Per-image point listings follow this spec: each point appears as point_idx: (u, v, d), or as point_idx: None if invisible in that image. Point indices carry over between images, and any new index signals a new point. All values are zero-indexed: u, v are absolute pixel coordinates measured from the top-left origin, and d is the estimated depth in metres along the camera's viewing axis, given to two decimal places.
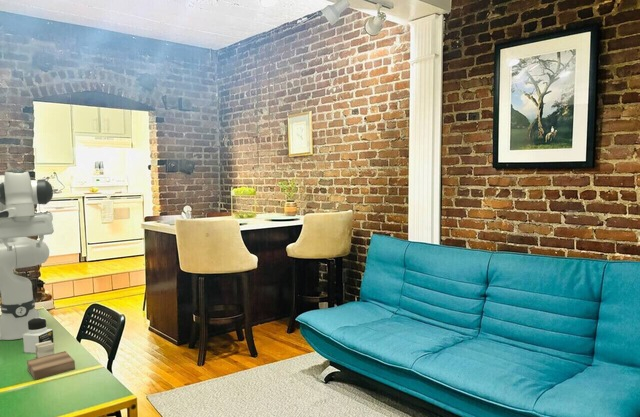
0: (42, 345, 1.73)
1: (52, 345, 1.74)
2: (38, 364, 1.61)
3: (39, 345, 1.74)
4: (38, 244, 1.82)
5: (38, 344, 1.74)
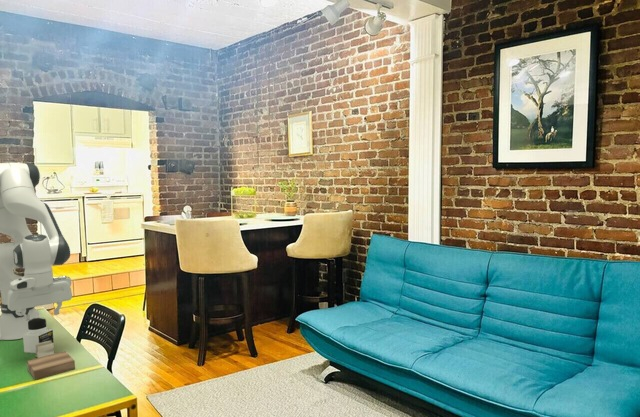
0: (42, 345, 1.73)
1: (52, 345, 1.74)
2: (38, 364, 1.61)
3: (39, 345, 1.74)
4: (56, 311, 1.76)
5: (38, 344, 1.74)
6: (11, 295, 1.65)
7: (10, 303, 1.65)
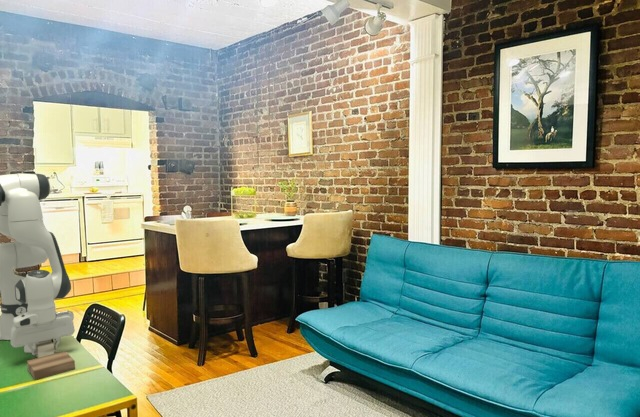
0: (42, 345, 1.73)
1: (52, 345, 1.74)
2: (38, 364, 1.61)
3: (39, 344, 1.74)
4: (54, 347, 1.76)
5: (38, 344, 1.74)
6: (14, 332, 1.66)
7: (13, 340, 1.66)
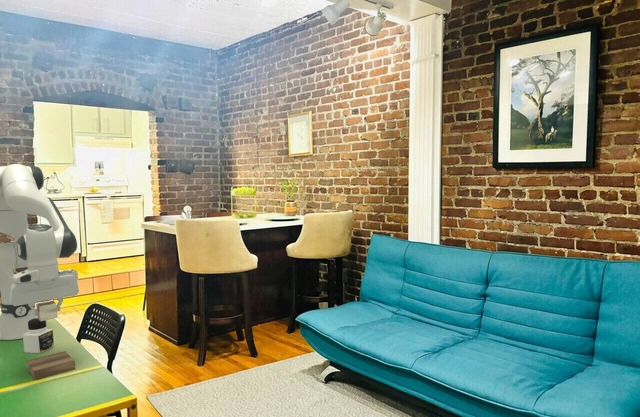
0: (44, 304, 1.60)
1: (55, 305, 1.61)
2: (38, 364, 1.61)
3: (41, 304, 1.61)
4: (57, 308, 1.63)
5: (39, 304, 1.62)
6: (14, 289, 1.54)
7: (13, 298, 1.54)
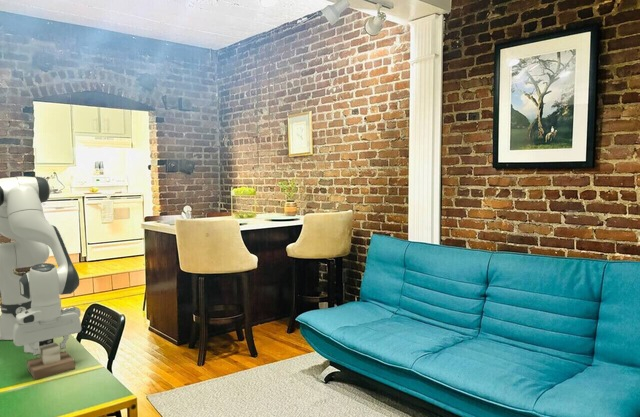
0: (47, 348, 1.62)
1: (58, 347, 1.63)
2: (38, 364, 1.61)
3: (44, 347, 1.62)
4: (62, 345, 1.65)
5: (42, 346, 1.63)
6: (17, 330, 1.55)
7: (16, 338, 1.55)
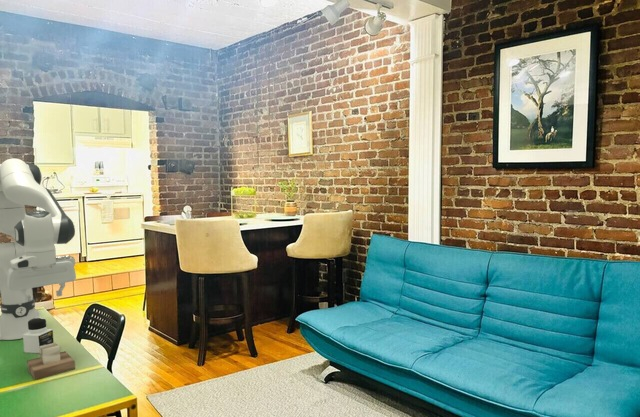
0: (47, 348, 1.62)
1: (58, 347, 1.63)
2: (38, 364, 1.61)
3: (44, 347, 1.62)
4: (59, 292, 1.66)
5: (42, 346, 1.63)
6: (11, 274, 1.55)
7: (10, 283, 1.55)
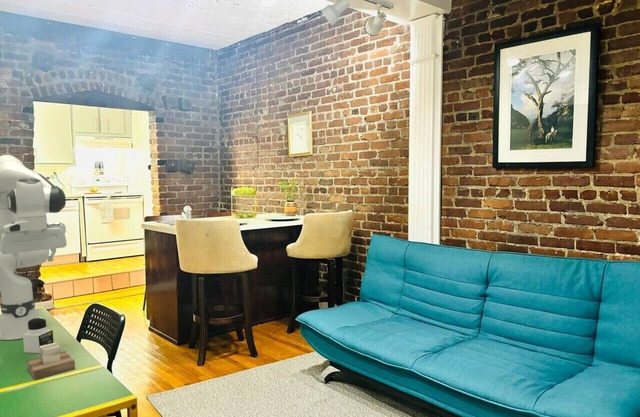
0: (47, 348, 1.62)
1: (58, 347, 1.63)
2: (38, 364, 1.61)
3: (44, 347, 1.62)
4: (50, 258, 1.72)
5: (42, 346, 1.63)
6: (3, 238, 1.61)
7: (2, 246, 1.62)
